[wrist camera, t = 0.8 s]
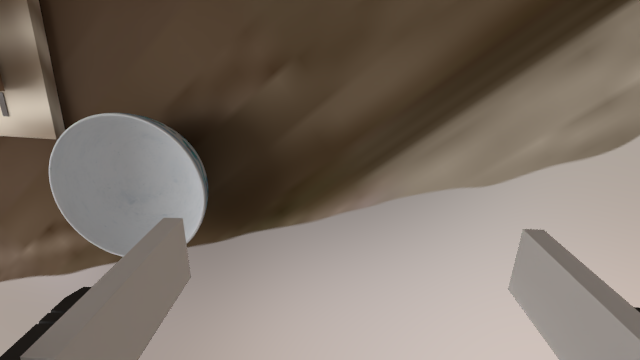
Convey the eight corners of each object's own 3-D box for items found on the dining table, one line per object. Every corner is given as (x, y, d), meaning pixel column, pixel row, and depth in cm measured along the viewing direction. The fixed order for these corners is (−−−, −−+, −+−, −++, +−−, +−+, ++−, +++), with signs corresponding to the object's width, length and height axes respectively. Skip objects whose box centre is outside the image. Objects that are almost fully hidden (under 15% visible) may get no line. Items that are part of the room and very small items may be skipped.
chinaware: (73, 140, 40) (15, 160, 33) (177, 76, 37) (139, 82, 30) (153, 243, 44) (117, 280, 37) (252, 192, 41) (234, 222, 34)
